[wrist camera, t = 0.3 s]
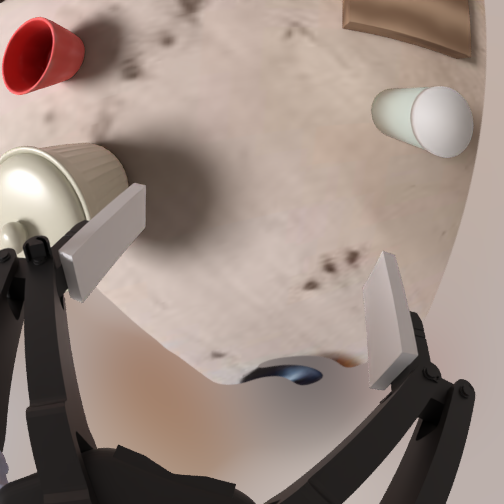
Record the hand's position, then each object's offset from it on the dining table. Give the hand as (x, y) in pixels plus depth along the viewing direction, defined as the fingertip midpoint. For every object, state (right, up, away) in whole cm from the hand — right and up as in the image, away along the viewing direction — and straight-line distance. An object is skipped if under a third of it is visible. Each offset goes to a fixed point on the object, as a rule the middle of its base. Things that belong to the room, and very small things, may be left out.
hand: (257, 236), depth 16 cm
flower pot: (-29, +29, +17) cm, 44 cm away
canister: (-24, +10, +27) cm, 37 cm away
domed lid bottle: (+19, +18, +20) cm, 33 cm away
